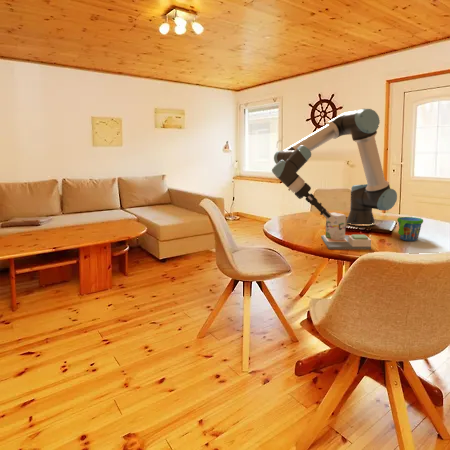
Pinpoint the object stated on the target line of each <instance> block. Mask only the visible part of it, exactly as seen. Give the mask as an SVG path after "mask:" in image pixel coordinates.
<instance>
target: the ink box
mask: <svg viewBox="0 0 450 450" xmlns="http://www.w3.org/2000/svg"><path fill="white" fill-rule="evenodd" d="M329 213H330V214H331V215H332V216H333V217H334V218H335V219H336V221H335V222H334V223H333V224H332V223H331V222H330V221H329V220H328V219H327V218H325V220H326V221H325V235H326V237H328V238H331V239H334V240H343V239H345V235H346V224H347V219H346V218H347V215H346V214H343V213H339V212H335V211H333V212H329Z"/></svg>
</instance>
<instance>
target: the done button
mask: <svg viewBox="0 0 450 450" xmlns="http://www.w3.org/2000/svg"><path fill="white" fill-rule="evenodd" d="M351 235H352V238H353V239H368V238H369V237H368V236H367V235H366V234H351Z"/></svg>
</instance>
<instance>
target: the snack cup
mask: <svg viewBox="0 0 450 450" xmlns="http://www.w3.org/2000/svg"><path fill="white" fill-rule="evenodd" d="M396 219H397V223H398V230H397V233H398V235H399V239H400V240H402V241H406V242H415V241H417V240H418V239H419V236H420V232H421V229H422V228H421V227H422V224H423V223H424V219H423V218H421V217H415V216H414V217H413V216H399V217H398V218H396Z"/></svg>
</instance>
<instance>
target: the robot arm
mask: <svg viewBox="0 0 450 450" xmlns="http://www.w3.org/2000/svg"><path fill="white" fill-rule="evenodd" d="M380 121H381V120H380V116H379V115H378V113H377V111H376V110H373V109H372V108H360V109H356V110H347V111H345V112H342V113H341V114H339V115H337V116H336V117H334V118H332V119H331V120H329V121H327V122H326V123H325V125H324V126H322V127H320V128H319V129H318V130H316V131H314V132H312V133H310V134H309V135H307V136H305V137H304V138H302V139H301V140H298V141H297V142H295V143H293V144H292V145H290V146H289V147H287V148H285V149H283V150H281V149H280V150H278V151H276V152H275V154H274V155H273V161H274V163H275V165H274V166H273V167H272V168H271V169H272V170H271V172H272V173H273V175H274V176H275V177H276V178H277V179H278V180H279V181H280V182H282V184H283V185H284V186H286V187H287V188H288V191H291V193H294V195H295V197H296V198H297V199H299V200H301V199H303V198H304V197H305V201H307V203H309V204H310V205H311V206H314V208H315V209H317V210H318V211H319V212H320V213H319V215H320V216H322V215H323V217H324V218H325V219H326V218H327V219H328V220H329V221H330V222H331V223H332V224H333V223H334V222H335V221H336V219H335V218H334V217H333V216H332V215H331V214H330V213H331V212H329V211H328V210H327V209H326V208H325V207H324V206H323V204H322V202H319V201H318V199H317V198H316V197H315V195H314V194H313V193H309V192H310V191H311V189H312V186H310V185H309V184H308V183H307V182H306V181H305V180H304V179H303V177H301V176H300V175H299V174H298V172H299V170H301V168H303V166H304V165H305V164H306V163H307V162H308V161H309V159H310V158H311V157H312V151H314V150H315V149H317V148H319V147H320V146H322V145H323V144H326V143H327V142H329V141H330V140H332V139H337V138H340V137H342V136H347V135H349V136H350V135H351V138H352V141H353V142H355V143H356V144H357V148H358V149H357V150H358V152H359V153H358V154H359V156H360V160H361V164H362V167H363V171H364V175H365V179H366V183H367V184H364V183H363V184H354V185H352V186H351V189H350V190H351V191H350V208H349V213H348V215H347V217H346V218H347V219H346V223H347V222H348V223H351V224H372V223H376V221H375V217H374V214H373V209H374V210H378V211H389V210H391V209H392V208H393V207H395V205H396V203H397V200H398V193H397V191H396V190H395V189H394V188H391V185H390V182H389V181H387V180H386V178H385V174H384V171H383V170H384V169H383V165H382V162H381V158H380V153H379V149H378V145H377V142H376V138H375V137H376V136H377V134H378V131H377V130H378V129H379V125H380V123H381V122H380Z"/></svg>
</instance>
